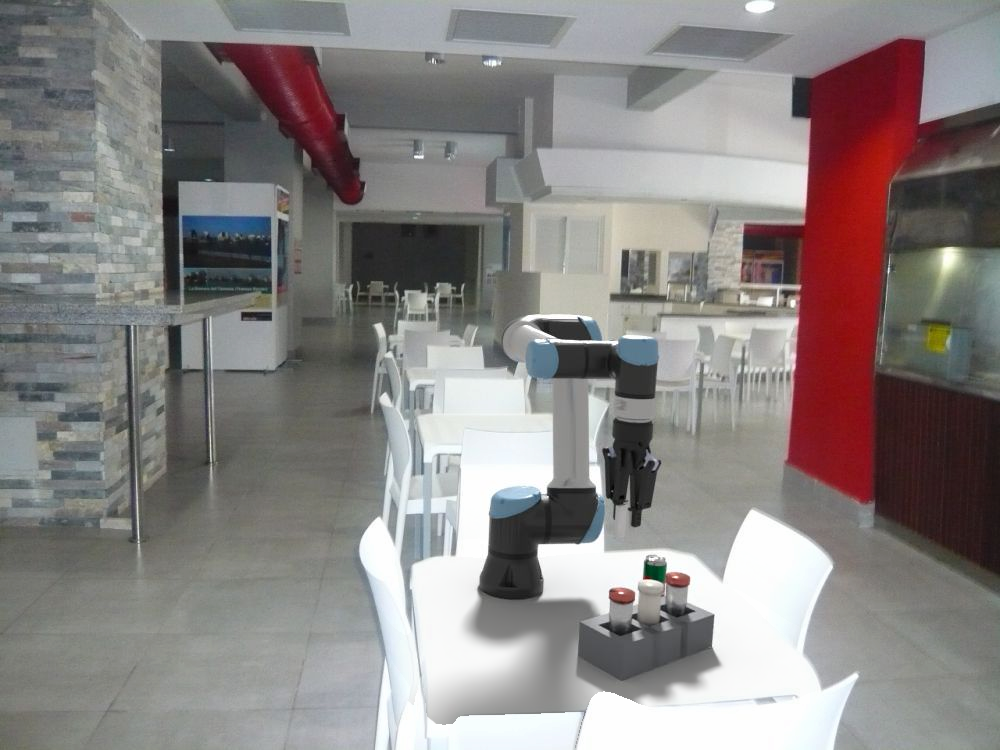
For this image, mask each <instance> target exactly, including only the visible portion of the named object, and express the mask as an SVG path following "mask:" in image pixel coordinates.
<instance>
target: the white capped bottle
mask: <svg viewBox="0 0 1000 750" xmlns="http://www.w3.org/2000/svg"><path fill="white" fill-rule="evenodd" d="M663 587H664V585H663V584H662V583H661V582H659V581H655V580H643V579H640V580H638V582H637V591H638V600H637V604H638V613H637V621H638V622H640V623H643V624H645V625H647V626H649V627H650V626H653V625H656V624H659V621H660V607H661V594H662V593H663Z"/></svg>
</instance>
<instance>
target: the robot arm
mask: <svg viewBox="0 0 1000 750" xmlns="http://www.w3.org/2000/svg"><path fill="white" fill-rule="evenodd" d="M500 345H501V349H502V351H503V353H504V354H505V355H506V356H507V357H508V359H511V360H512V361H514V362H516V363H522V364H523V363H525V370H526V372H527V375H528V376H530V378H533V379H534V378H535V379H541V380H542V379H543V380H550V379H552V480H550V482H549V483H548V484H547V486H546V493H542V492H541V490H540V489H539V488H537V487H534V486H526V485H519V486H518V485H516V486H515V485H514V486H511V487H506V488H503V489H499V490H498V491H495V493H494V494H493V495H492V496H491V498H490V502H489V503H490V504H489V511H488V516H489V521H488V522H489V523H488V545H487V556H486V558H485V561H484V565H483V568H482V571H481V572H480V574H479V580H478V581H479V582H478V583H479V584H478V586H479V589H480V590H481V591H482V592H484V593H486V594H488V595H490V596H493V597H495V598H496V597H498V598H502V599H510V600H512V599H514V600H516V599H517V600H518V599H519V600H521V599H527V598H533V597H536V596H539V595H540V594H541V593H542V592H543V590H544V585H545V584H544V583H545V582H544V580H545V579H544V576H543V572H542V568H541V564H540V561H539V557H538V555H539V554H538V551H539V550H538V549H539V545H567V544H568V545H572V544H573V545H581V544H590V543H594V542H595V541H597V539H599V537H600V535H601V533H602V531H603V527H604V525H605V524H604V523H605V515H606V506H605V499H604V497H603V495H602V494H601V493H599V492H597V486H596V484H595V483H593V482H592V480H591V479H590V431H589V430H590V417H589V415H590V412H589V411H590V409H589V400H590V399H589V380H615V381H614V383H615V384H614V400H613V401H614V404H613V416H615V417H614V419H613V420H612V430H611V431H612V432H611V436H612V438H613V439H614V440H613V441H612V442H613V443H612V445H610V446H608V447H607V446H606V447H603V448H602V449H601V452H602V455H603V460H604V477H605V479H604V480H605V481H604V482H605V497H606V499H608V500H609V499H610V501H611V502H612V504H613V513H612V518H613V520H614V528H613V529H614V531H613V539H614V540H616V541H617V540H622V539H624V544H627V545H629V544H634V543H636V542H637V543H638V538H639V527H641V526H642V525H641V524H642V516H643V515H642V513H643V510H646V509H650V508H652V503H653V497H654V492H655V486H656V481H657V475H658V471H659V469H660V467H661V465H662V461H661V459H659V458H657V459H656V458H655V457H654V456H653V455H652V450H651V447H650V444H651V442H652V440H653V436H654V422H653V421H652V419H654V418H655V407H656V390H657V376H658V365H659V364H658V363H659V359H660V358H659V357H660V356H659V342H658V339H656V338H655V337H653V336H648V335H634V334H633V335H630V334H629V335H628V334H626V335H622V336H620V337H619V339H608V340H603V336H602V333H601V328H600V325H599V324H598V323H597V321H596V320H595V319H594V318H593V317H591V316H584V315H578V314H575V315H573V314H539V313H538V314H527V315H522V316H520V317H517V318H515V319H513V320H512V321H510V322H509V323H508V324H507V325H506V326H505V327H504V329H503V330H502V331H501V336H500ZM628 489H629V499H627V493H628ZM628 502H629V504H627V503H628Z"/></svg>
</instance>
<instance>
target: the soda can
mask: <svg viewBox="0 0 1000 750" xmlns="http://www.w3.org/2000/svg"><path fill="white" fill-rule="evenodd" d="M667 566H668V563H667V560H666V557H665V556H663V555H660V554H648V555H646V556H645V559H644V561H643V569H642V571H643V572H642V580H655V581H659V582H661V583H662V584H663V585H664V587H663V593H662V594H661V597H664V596H665V593H666V582H665V575H666V574H667V570H668V567H667Z"/></svg>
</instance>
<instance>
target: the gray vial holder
mask: <svg viewBox="0 0 1000 750" xmlns="http://www.w3.org/2000/svg"><path fill="white" fill-rule="evenodd" d="M664 607H665V596H664V597H661V607H660V621H659V624H656V625H653V626H650V627H649V626H647V625H645V624H643V623H640V622H638V621H637V613H638V603H637V604H633V612H632V627H631V633H629V634H626V635H623V636H619V635H617V634H615V633H613V632H611V631H609V630H608V626H609V612H608V613H605V614H601V615H598V616H594V617H591V618H588V619H584V620H580V621H579V629H578V632H579V633H578V645H577V646H578V647H577V656H578V657H580V658H581V659H583V660H585V661H586V662H588V663H590V664H592V665H594V666H595V667H597V668H598V669H600V670H602V671H604V672H606V673H608V674H609V675H611V676H613V677H615V678H617V679H618V680H620V681H624V680H627V679H629V678H632V677H635V676H638V675H641V674H644V673H645V672H648V671H649V672H650V671H651V670H653V669H656V668H659V667H662V666H665V665H668V664H670V663H673V662H675V661H678V660H681V659H683V658H686V657H688V656H689V657H690V656H692V655H694V654H697V653H699V652H702V651H704V650H707V649H711V648H712V647H713V638H714V628H715V627H714V626H715V625H714V624H715V613H712V612H710V611H708V610H705V609H704V608H701V607H699V606H697V605H694V604H692V603H689V602H687V609H686V615H684V616H681V617H677V618H676V617H674V616H672V615H670V614H668V613H665V612H664Z"/></svg>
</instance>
